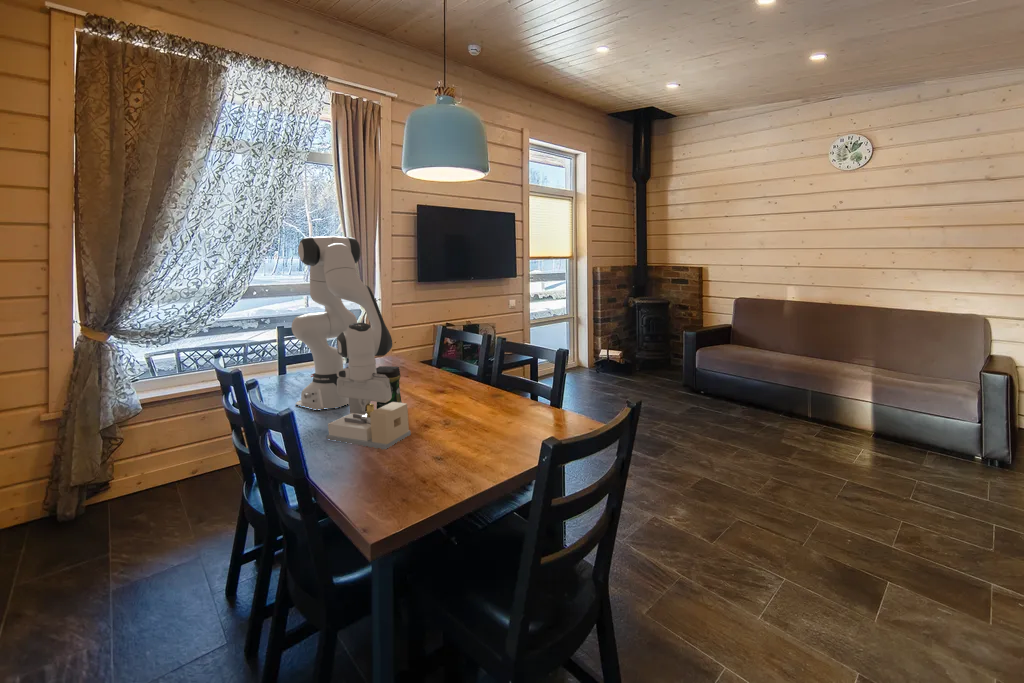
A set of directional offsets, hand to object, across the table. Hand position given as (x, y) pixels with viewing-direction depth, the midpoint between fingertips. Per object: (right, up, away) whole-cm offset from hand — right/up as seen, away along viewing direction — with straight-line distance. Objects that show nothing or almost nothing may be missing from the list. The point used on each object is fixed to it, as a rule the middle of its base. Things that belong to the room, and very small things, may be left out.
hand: (365, 411), depth 166 cm
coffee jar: (+1, -4, +28) cm, 28 cm away
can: (-9, -6, +23) cm, 25 cm away
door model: (+1, -9, +1) cm, 9 cm away
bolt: (+4, -4, -1) cm, 5 cm away
